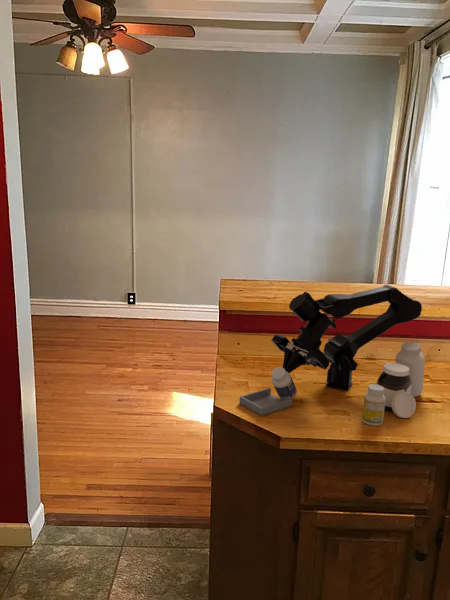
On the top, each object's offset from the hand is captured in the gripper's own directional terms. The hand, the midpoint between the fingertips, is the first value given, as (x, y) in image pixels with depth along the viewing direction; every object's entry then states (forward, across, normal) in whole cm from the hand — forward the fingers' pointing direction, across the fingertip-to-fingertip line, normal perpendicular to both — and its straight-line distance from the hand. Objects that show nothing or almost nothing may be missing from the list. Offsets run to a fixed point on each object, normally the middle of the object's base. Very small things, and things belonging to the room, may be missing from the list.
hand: (283, 375), depth 151 cm
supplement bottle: (-2, -24, -12) cm, 27 cm away
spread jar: (-10, -23, -20) cm, 32 cm away
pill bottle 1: (+3, -2, -4) cm, 6 cm away
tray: (+10, -2, +1) cm, 10 cm away
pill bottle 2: (-20, -18, -29) cm, 39 cm away
